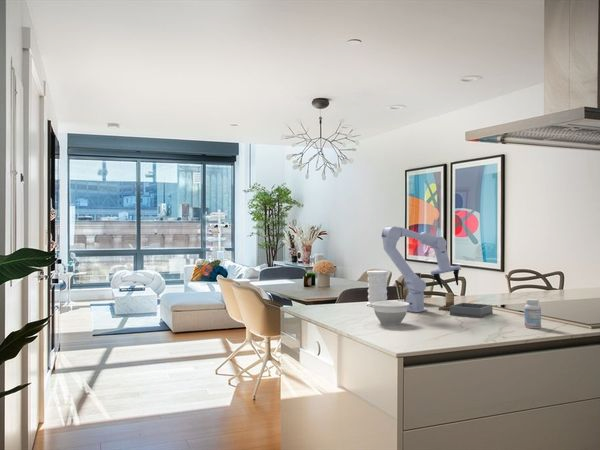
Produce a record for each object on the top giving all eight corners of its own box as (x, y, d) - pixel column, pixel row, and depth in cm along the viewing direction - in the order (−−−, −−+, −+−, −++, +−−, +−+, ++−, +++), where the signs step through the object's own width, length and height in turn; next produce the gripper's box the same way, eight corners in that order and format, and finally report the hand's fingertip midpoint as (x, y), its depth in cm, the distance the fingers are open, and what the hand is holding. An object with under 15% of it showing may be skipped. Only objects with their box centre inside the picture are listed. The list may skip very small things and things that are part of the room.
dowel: (452, 310, 268) (451, 294, 268) (444, 309, 271) (444, 293, 271) (455, 309, 271) (455, 293, 271) (447, 308, 274) (447, 292, 274)
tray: (480, 317, 246) (480, 308, 246) (449, 314, 255) (449, 306, 255) (492, 313, 257) (492, 304, 257) (462, 310, 266) (462, 302, 266)
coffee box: (422, 302, 300) (421, 272, 300) (421, 303, 294) (420, 273, 294) (404, 301, 302) (404, 272, 303) (403, 303, 296) (403, 273, 296)
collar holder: (454, 311, 265) (454, 308, 265) (438, 309, 270) (438, 306, 270) (461, 309, 271) (461, 306, 271) (445, 308, 276) (445, 305, 277)
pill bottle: (527, 325, 225) (526, 298, 225) (543, 327, 221) (542, 299, 221) (522, 327, 220) (522, 299, 220) (538, 329, 216) (538, 300, 216)
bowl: (365, 321, 239) (365, 302, 239) (397, 319, 244) (397, 300, 244) (383, 327, 224) (383, 306, 224) (417, 325, 229) (416, 304, 229)
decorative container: (381, 303, 296) (381, 270, 297) (393, 306, 286) (392, 271, 286) (362, 304, 292) (362, 271, 292) (373, 307, 281) (373, 272, 281)
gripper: (458, 255, 274) (464, 281, 275) (429, 261, 279) (436, 287, 280) (457, 258, 267) (464, 285, 268) (427, 264, 272) (434, 290, 273)
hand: (449, 286), depth 273 cm, fingers open, 7 cm apart
